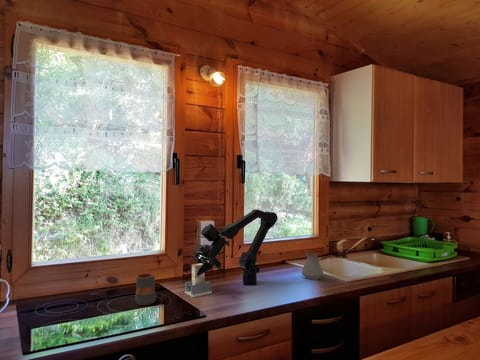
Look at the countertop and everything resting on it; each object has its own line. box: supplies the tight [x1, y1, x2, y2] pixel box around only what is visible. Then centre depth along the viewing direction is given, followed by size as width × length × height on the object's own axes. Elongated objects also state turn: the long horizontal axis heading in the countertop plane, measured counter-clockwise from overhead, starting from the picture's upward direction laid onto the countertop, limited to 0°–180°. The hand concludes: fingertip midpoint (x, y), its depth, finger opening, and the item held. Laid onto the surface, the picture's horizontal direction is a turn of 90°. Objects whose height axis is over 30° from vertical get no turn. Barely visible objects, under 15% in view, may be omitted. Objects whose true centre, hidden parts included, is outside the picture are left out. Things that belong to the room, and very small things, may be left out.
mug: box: [134, 273, 157, 306], centre depth 165 cm, size 9×12×12 cm
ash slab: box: [191, 263, 206, 285], centre depth 177 cm, size 5×3×11 cm, turn 125°
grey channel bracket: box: [184, 278, 213, 298], centre depth 177 cm, size 10×8×5 cm
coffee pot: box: [301, 252, 335, 281], centre depth 198 cm, size 21×12×15 cm, turn 29°
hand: (195, 274), depth 176 cm, fingers closed on ash slab, 3 cm apart
